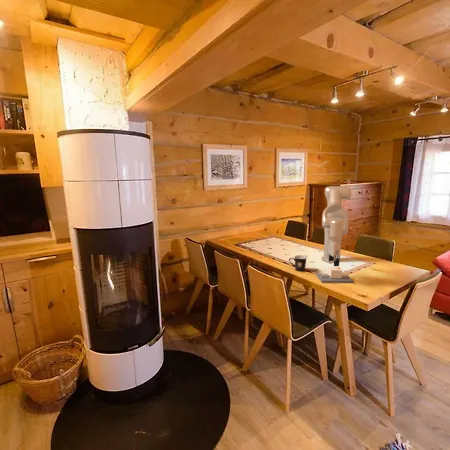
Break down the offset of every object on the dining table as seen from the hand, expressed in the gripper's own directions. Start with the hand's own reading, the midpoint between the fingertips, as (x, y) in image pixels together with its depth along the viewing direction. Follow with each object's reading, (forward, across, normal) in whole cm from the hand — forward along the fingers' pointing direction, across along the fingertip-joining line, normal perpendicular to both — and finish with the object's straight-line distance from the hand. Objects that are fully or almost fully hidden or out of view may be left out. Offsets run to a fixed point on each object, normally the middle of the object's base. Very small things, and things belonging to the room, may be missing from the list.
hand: (333, 263), depth 181 cm
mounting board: (+11, +1, +1) cm, 11 cm away
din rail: (+9, +1, +1) cm, 9 cm away
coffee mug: (+12, -17, -19) cm, 28 cm away
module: (+9, +1, +1) cm, 9 cm away
